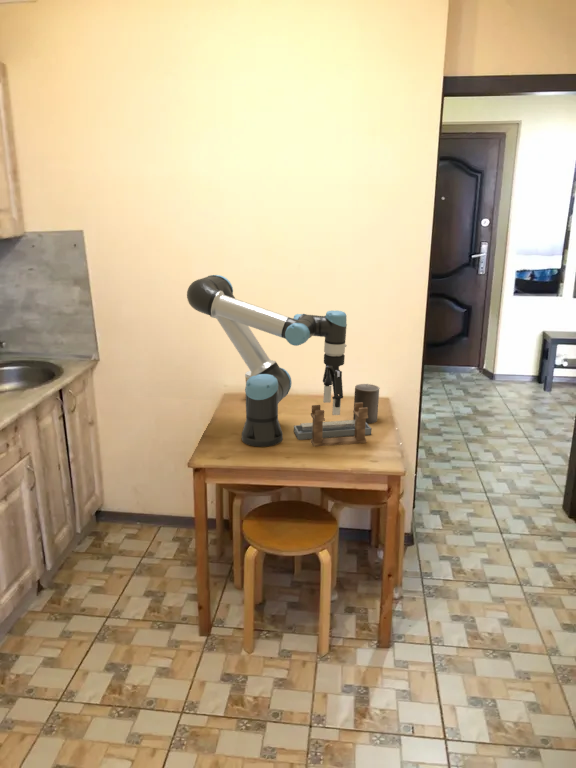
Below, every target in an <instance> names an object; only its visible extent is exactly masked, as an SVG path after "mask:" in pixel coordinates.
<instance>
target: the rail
mask: <svg viewBox="0 0 576 768" xmlns="http://www.w3.org/2000/svg"><path fill="white" fill-rule="evenodd" d="M299 425H300V433H306V432H312V429H313V422H301V423H300V424H299ZM350 429H355V420H354V419H349V420H348V419H346V420H336V421H335V420H334V421H323V431H335V430H350Z"/></svg>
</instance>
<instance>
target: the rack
mask: <svg viewBox="0 0 576 768" xmlns="http://www.w3.org/2000/svg"><path fill="white" fill-rule="evenodd" d="M352 413H353V415H354V414H355V436H347V437H333V438H322V432H323V422H326V421H325V420H326V419H325V409H321V405H320V404H312V405H311V413H310V416H311V418H312V423H313V429H312V439H310V444H311V445H312V447H323V446H324V447H326V446H337V445H350V444H364V443H365V444H366V443H367V439H366V435H365V423H366V418H368V408H367V407H365V408H363V403H362V402H360V403H354V402H353V410H352Z"/></svg>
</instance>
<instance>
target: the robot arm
mask: <svg viewBox="0 0 576 768" xmlns="http://www.w3.org/2000/svg"><path fill="white" fill-rule="evenodd" d="M186 298H187V303H188V304H189V305H190V306H191V308H193V309H194V310H195V311H197V312H199V313H202V314H205V315H206V316H209V318H211V319H212V318H213V319H216V320H217V322H218V323H219V324H220V326H221V328H222V329H223V331H224V332H225V333H226V334H225V335H227V337H228V338H229V340H230V342H231V344H233V346H234V347H235V350H236V351H237V353H238V354H239V355H240V357H241V359H242V360H243V362H244V363H245V365H246V366H247V368H248V369H249V371H251V376H250V378H249V379H248V380H247V382H246V381H245V389H244V391H245V422H244V425H243V428H242V432H241V440H242V442H243V443H244V444H246V445H248V446H250V447H257V446H258V447H262V448H263V447H264V448H265V447H273V446H276V445H279V444H280V443H281V442H282V441H283V440H284V439H283V435H284V434H283V430H282V427H281V424H280V421H279V403H280V402H281V401H282V400H283V399H284V398H285V397H286V396H288V394H289V393H290V390H291V389H292V378H291V375H290V374H289V372H288V371H287V370H286V369H285V368H282V367H280V366H279V364H278V363H277V361H276V360H273V359H270V358H269V355H268V354H267V352H265V350H264V348H263V347H262V345H261V343H260V342H259V340H258V338H257V337H256V336H255V334H254V333H253V331H252V330H251V328H254V329H256V330H259V331H262V332H265V333H268V334H271V335H274V336H276V337H279V338H281V339H285V340H286V341H287V343H289V344H290V345H292V346H295V347H297V346H301V345H303V344H305V343H307V341H308V340H309V339H310V338H312V337H320V338H324V346H323V352H324V355H323V364H325V366H324V367H325V368H324V373H323V376H322V383H323V400H322V401H323V403H326V404H329V403H331V402H332V411H331V412H332V413H331V415H332V416H341V407H342V406H341V403H342V399H344V391H343V377H342V376H343V371H342V370H341V369H340V366H341V367H342V366H344V365H345V351H346V348H347V344H346V337H347V326H348V324H347V314H346V312H345V311H343V310H328V311H326V313H325V315H315V314H314V315H313V314H307V313H306V314H305V313H297V314H295V315H294V316H293V317H289V316H287V315H284V314H281V313H279V312H275V311H273V310H269V309H266V308H263V307H260V306H258V305H255V304H252V303H249V302H246V301H243V300H240V299H237V298H236V297H235V296H234V289H233V285H232V283H231V281H229V279H228V278H227V277H225V276H222V275H218V274H213V275H212V274H210V275H208V276H205V277H202V278H198V279H196V280H194V281H192V283H190V285H189V286H188V288H187V291H186ZM250 327H251V328H250ZM332 390H333V391H332ZM332 392H333V396H332ZM331 400H332V401H331ZM258 447H257V448H258Z"/></svg>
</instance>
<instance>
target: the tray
mask: <svg viewBox="0 0 576 768" xmlns="http://www.w3.org/2000/svg"><path fill="white" fill-rule="evenodd" d="M293 433H294V434H295V437H296V439H297V440H298V441H300V440H301V441H303V440H312V432H306V433H300V424H298V425H293ZM365 436H372V427H371V426H370V425H369V424H367V423H365ZM341 437H355V429H350V430H335V431H323V432H322V439H327V438H341Z"/></svg>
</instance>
